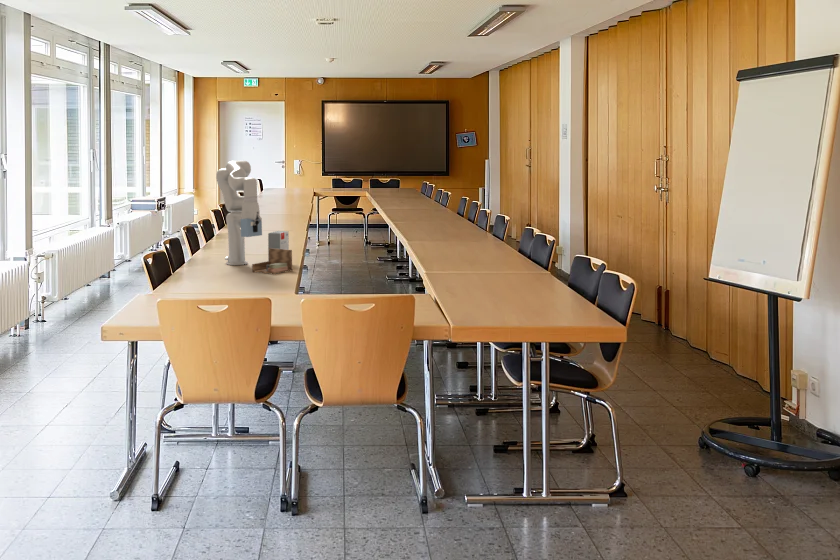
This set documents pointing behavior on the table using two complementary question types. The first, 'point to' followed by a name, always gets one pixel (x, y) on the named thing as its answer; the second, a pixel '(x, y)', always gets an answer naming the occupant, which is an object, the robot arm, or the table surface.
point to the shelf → (275, 262)
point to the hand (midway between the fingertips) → (251, 231)
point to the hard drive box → (278, 240)
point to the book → (250, 228)
